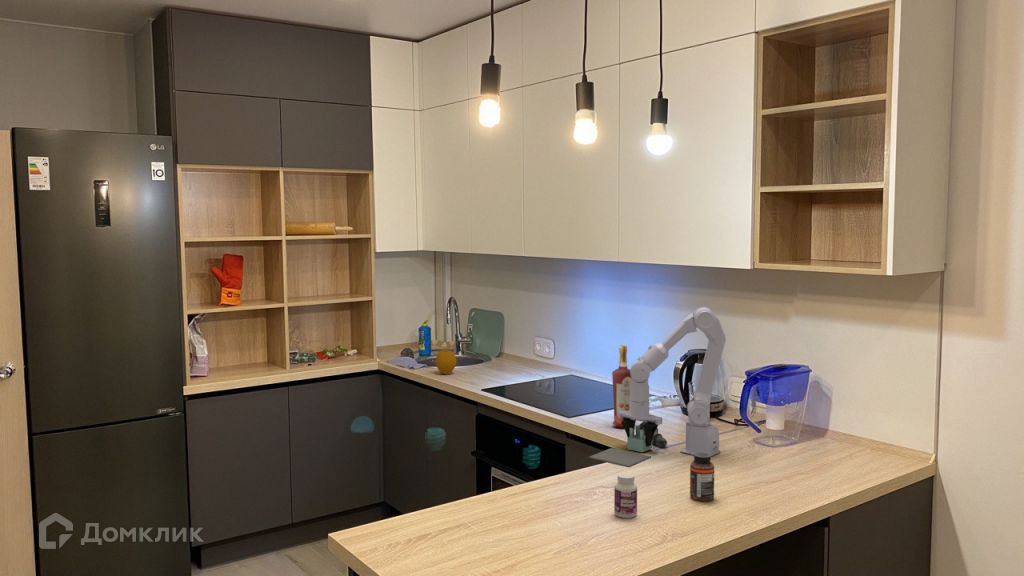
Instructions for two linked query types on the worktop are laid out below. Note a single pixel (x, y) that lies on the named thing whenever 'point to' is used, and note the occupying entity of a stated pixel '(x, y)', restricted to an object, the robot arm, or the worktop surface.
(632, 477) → the pill bottle
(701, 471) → the supplement bottle
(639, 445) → the stool
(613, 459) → the mat
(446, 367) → the orange rounded oval
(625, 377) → the liquor
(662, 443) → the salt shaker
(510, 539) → the worktop surface
